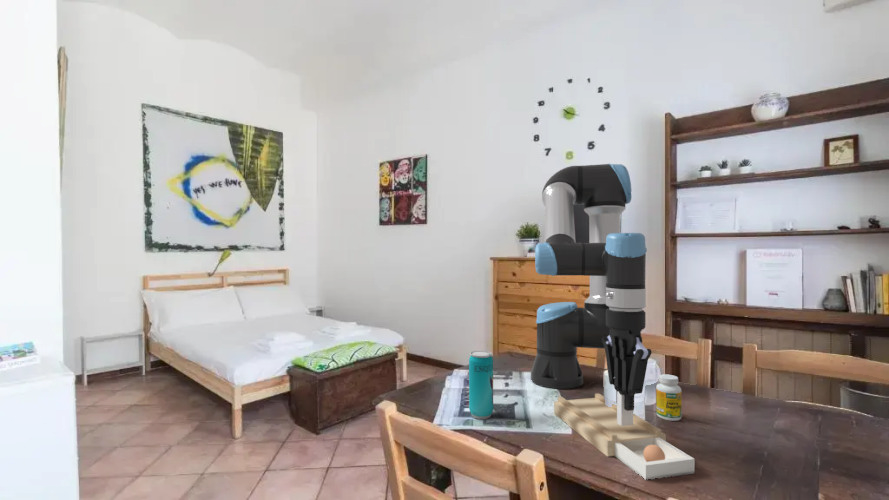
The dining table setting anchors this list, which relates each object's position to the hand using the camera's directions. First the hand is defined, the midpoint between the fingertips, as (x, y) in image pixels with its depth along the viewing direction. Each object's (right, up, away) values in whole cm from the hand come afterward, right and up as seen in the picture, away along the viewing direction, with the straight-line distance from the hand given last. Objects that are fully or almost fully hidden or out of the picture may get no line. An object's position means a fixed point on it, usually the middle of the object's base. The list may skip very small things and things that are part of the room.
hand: (625, 423), depth 89 cm
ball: (+2, -2, -9) cm, 9 cm away
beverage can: (-28, -4, +15) cm, 32 cm away
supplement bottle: (+16, -4, +14) cm, 22 cm away
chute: (-2, -4, +7) cm, 8 cm away
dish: (+2, -4, -7) cm, 9 cm away
